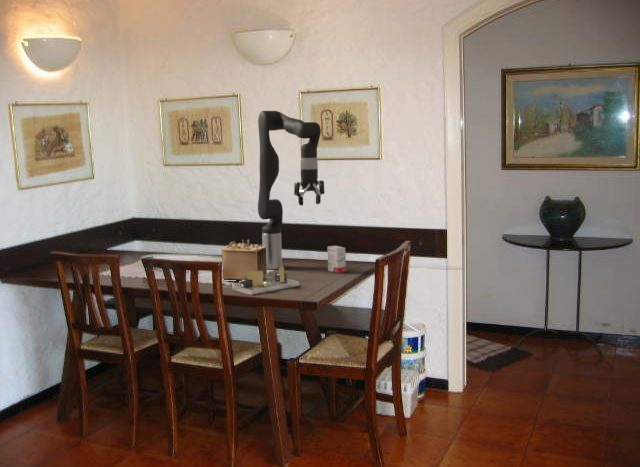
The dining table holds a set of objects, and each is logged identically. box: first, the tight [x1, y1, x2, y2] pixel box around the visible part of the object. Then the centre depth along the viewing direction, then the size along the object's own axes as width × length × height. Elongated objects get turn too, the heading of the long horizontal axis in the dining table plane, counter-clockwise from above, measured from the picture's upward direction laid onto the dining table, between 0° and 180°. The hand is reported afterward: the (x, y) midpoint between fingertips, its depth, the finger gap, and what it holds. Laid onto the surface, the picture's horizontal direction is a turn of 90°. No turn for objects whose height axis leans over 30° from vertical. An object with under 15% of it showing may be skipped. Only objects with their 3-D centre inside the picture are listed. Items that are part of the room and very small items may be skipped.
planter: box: [221, 239, 273, 281], centre depth 328 cm, size 25×25×19 cm
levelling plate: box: [231, 276, 300, 296], centre depth 312 cm, size 14×25×5 cm, turn 130°
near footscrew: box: [240, 270, 263, 287], centre depth 307 cm, size 9×5×6 cm, turn 90°
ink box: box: [326, 245, 347, 274], centre depth 344 cm, size 9×5×12 cm, turn 33°
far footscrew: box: [274, 265, 288, 282], centre depth 316 cm, size 9×5×6 cm, turn 7°
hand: (309, 204), depth 325 cm, fingers open, 8 cm apart
